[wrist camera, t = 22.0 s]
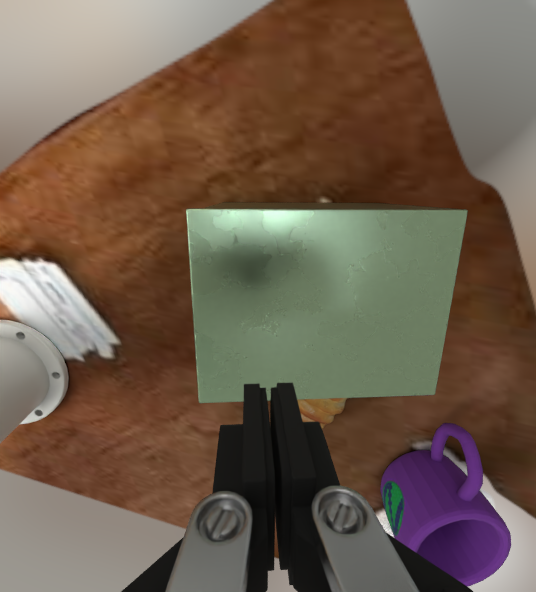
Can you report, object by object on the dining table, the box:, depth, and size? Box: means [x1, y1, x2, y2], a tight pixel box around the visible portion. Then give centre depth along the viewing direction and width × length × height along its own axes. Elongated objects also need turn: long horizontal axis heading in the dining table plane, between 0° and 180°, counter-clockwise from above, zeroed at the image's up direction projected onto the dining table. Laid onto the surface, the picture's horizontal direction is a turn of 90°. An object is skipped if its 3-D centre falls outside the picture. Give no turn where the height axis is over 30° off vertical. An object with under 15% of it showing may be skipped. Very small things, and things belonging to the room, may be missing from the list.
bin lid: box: [186, 208, 468, 403], centre depth 21 cm, size 16×13×1 cm
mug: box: [381, 423, 511, 586], centre depth 39 cm, size 17×11×10 cm, turn 173°
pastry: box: [297, 398, 347, 429], centre depth 38 cm, size 9×7×4 cm
